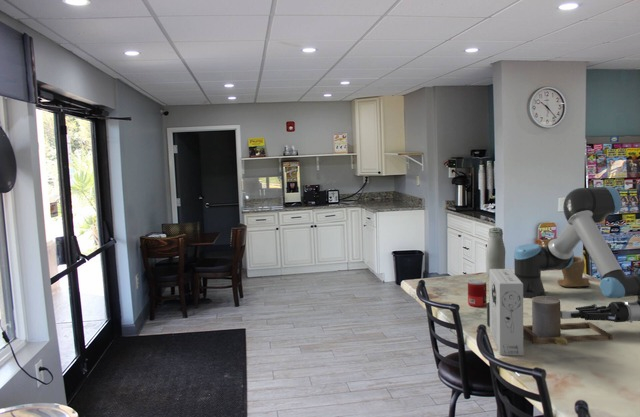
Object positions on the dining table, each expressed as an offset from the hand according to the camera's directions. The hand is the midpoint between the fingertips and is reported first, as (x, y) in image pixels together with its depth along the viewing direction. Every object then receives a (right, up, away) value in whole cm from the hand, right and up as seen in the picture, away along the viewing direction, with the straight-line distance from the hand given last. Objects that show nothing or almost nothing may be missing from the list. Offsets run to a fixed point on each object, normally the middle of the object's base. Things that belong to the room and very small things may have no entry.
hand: (561, 314), depth 184 cm
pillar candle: (-5, -8, +1) cm, 10 cm away
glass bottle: (+6, +1, +85) cm, 85 cm away
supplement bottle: (-20, -7, +13) cm, 25 cm away
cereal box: (-23, -9, -6) cm, 25 cm away
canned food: (-18, -4, +41) cm, 45 cm away
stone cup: (+38, 0, +64) cm, 74 cm away
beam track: (+1, -7, +1) cm, 8 cm away
